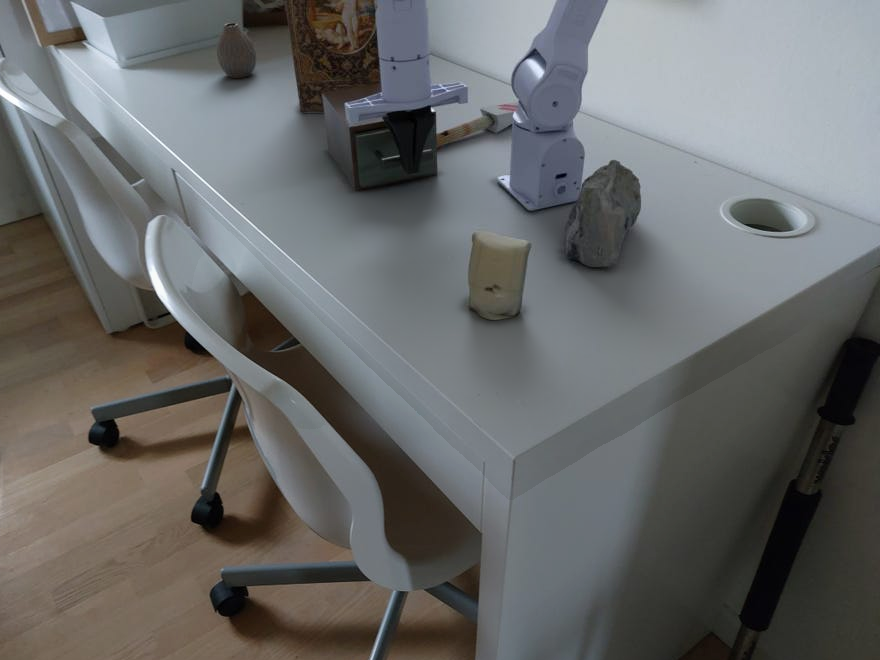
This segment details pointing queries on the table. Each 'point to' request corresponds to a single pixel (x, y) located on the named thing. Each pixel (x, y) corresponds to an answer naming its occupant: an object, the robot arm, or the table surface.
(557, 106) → the robot arm
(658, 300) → the table surface
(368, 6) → the book
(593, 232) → the mineral rock
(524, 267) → the cream tall block
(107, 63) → the table surface
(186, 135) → the table surface
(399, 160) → the drawer
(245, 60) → the vase
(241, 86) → the table surface
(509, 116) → the paintbrush
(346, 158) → the cabinet
